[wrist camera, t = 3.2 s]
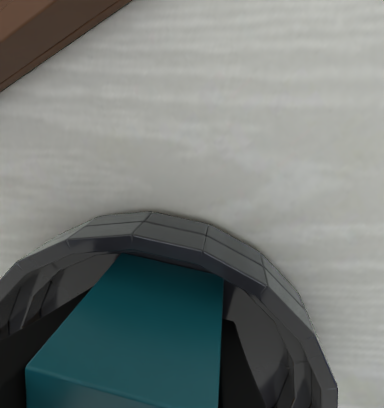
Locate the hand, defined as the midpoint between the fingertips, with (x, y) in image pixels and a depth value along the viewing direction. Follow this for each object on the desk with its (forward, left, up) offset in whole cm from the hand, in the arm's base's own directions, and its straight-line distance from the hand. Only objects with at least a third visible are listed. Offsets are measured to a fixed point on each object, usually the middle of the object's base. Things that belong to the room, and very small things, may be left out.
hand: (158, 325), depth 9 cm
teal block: (0, 0, -1) cm, 1 cm away
